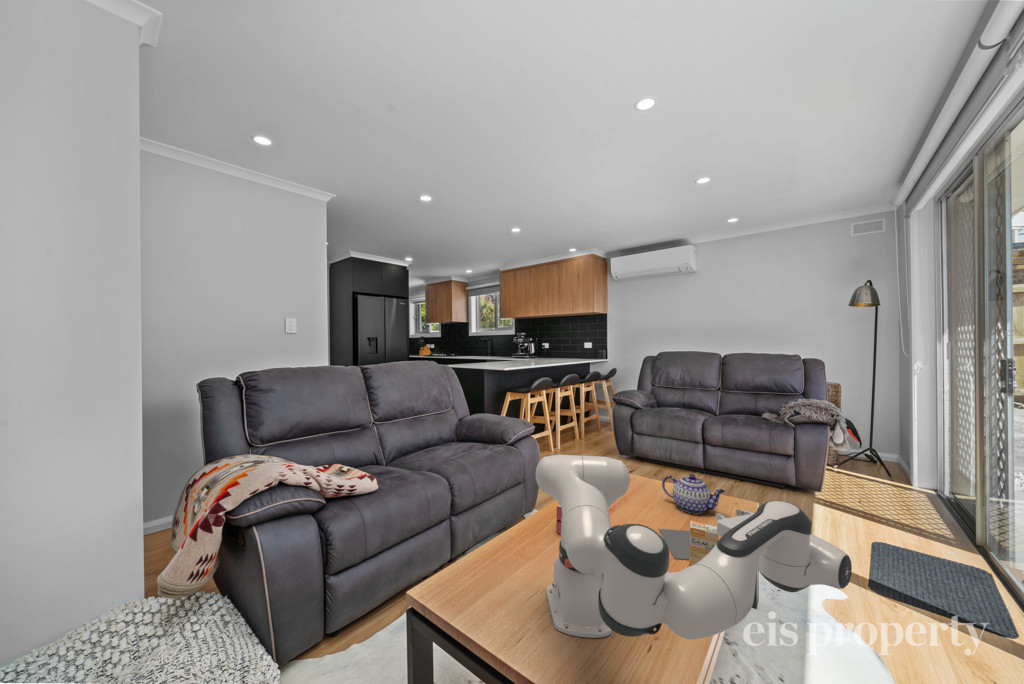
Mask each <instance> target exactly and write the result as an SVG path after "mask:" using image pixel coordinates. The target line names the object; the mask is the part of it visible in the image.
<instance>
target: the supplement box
mask: <svg viewBox="0 0 1024 684" xmlns="http://www.w3.org/2000/svg"><path fill="white" fill-rule="evenodd" d="M689 531H690V549H689V560H688V567H690V566H692V565H694V564H696V563H698V562H699V561H700V560H702V559H703V558H704V557H705V556H706V555H707V554H708V553H709V552H710V551H711V550H712V549H713V547H714V546H715V545H716V544H717V542H718V541H719V539H720V538H719V537H720V535H719V534H718V532H717V525H711V524H708V523H704V522H703V523H702V522H698V521H694V520H690V522H689Z"/></svg>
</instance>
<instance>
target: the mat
mask: <svg viewBox="0 0 1024 684" xmlns="http://www.w3.org/2000/svg"><path fill="white" fill-rule="evenodd" d="M658 531H659V533H660V536H661V537H662V538H663V539H664V541H665V542H666V544H667V546H668V549H669V553H670V554H671V555H672V558H673V559H674V560H679V561H680V560H682V561H689V549H690V530H683V529H682V530H681V529H671V528H670V529H669V528H667V529H666V528H658Z"/></svg>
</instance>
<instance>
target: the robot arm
mask: <svg viewBox="0 0 1024 684" xmlns="http://www.w3.org/2000/svg"><path fill="white" fill-rule="evenodd" d="M535 480H536V483H537V485H538V488H539V489H540V491H541V492H543V493H545V494H547V495H549V496H550V497H552V498H553V499H554V500H555V501H556V502H557V503H558V505H560V506H561V509H562V518H561V535H560V540H559V545H558V558H557V559H556V560H555V561H554V562H553V573H552V580H553V581H552V584H551V585H548V586H547V587H546V588H545V594H546V598H547V602H548V606H549V610H550V614H551V619H552V623H553V627H554V629H556V630H557V631H559V632H561V633H564V634H565V635H569V636H575V637H580V638H589V639H590V638H591V639H592V638H593V639H594V638H595V639H597V638H599V639H600V638H604V637H608V636H610V635H612V633H613V632H615V633H616V634H618V635H621V636H623V637H629V638H630V637H631V638H632V637H633V638H634V637H636V638H637V637H641V636H644V635H651V636H652V635H656V634H657V633H658V632H659V631H660V629H661V627H662V624H664V625H666V626H667V628H668V629H670V630H671V631H672V632H673V633H674V634H675V635H677V636H678V637H680V638H681V639H685V640H690V641H691V640H693V641H694V640H699V639H704V638H705V639H706V638H709V637H713V636H716V635H718V634H721V633H723V632H726V631H727V630H729V629H731V628H733V627H735V626H737V625H738V624H740V623H741V622H742V621H743V620H744V619H745V618H746V617H747V615H749V613H750V611H751V610H752V608H753V605H754V601H755V592H756V583H757V574H758V573H757V572H759V573H760V575H761V576H762V577H763V578H764V579H765V580H766V581H767V582H769V583H770V584H771V585H773V586H774V587H776V588H778V589H780V590H782V591H785V592H788V593H797V592H800V591H803V590H805V589H806V588H808V587H810V586H817V585H822V586H829V587H831V588H832V587H833V588H834V589H838V590H841V589H845V588H846V587H848V585H849V584H850V581H851V579H852V573H853V571H852V568H853V567H852V566H853V565H852V561H851V558H850V556H849V555H848V553H846V551H844V550H842V549H840V548H839V547H837V546H836V545H834V544H833V543H830V542H829V541H826V540H824V539H823V538H820V537H818V536H816V535H814V534H812V527H813V525H812V524H813V522H812V520H811V519H810V518H809V516H808V515H807V514H806V513H805V512H804V511H803V510H802V509H801V508H800V507H799V506H797V505H796V504H794V503H791V502H788V501H783V500H768V501H766V502H764V503H762V504H761V505H759V506H758V507H757V508H756V511H755V512H751V511H745V510H743V509H740V508H739V509H735V512H736V513H735V515H736V516H733V517H731V516H730V517H726V515H725V514H724V513H721V512H718V513H715V520H716V526H717V532H718V534H719V537H720V536H721V537H720V538H719V541H718V542H717V544H716V545H715V546H714V547H713V549H712V550H711V551H710V552H709V553H708V554H707V555H706V556H705V557H704V558H703V559H702V560H700V561H699V562H698V563H696V564H694V565H692V566H687V567H685V568H683V569H682V570H680V571H673V572H669V571H668V570H669V566H670V550H669V548H668V546H667V544H666V542H665V541H664V539H663V537H662V535H661V534H659V533H658V532H657V531H656V530H655V529H653V528H652V527H649V526H647V525H643V524H639V523H625V524H619V525H613V526H612V523H611V518H610V512H609V509H610V507H611V506H612V505H613V504H614V503H615V502H616V501H617V500H618V499H619V500H620V498H622V497H623V496H625V494H626V493H627V491H628V490H629V488H630V483H631V476H630V471H629V469H628V467H627V466H626V464H625V463H624V462H623V461H622V460H620V459H615V458H612V457H609V456H601V455H600V456H599V455H598V456H597V455H596V456H595V455H574V454H552V455H547V456H543V457H542V458H541V459H539V462H538V463H537V466H536V468H535Z"/></svg>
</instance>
